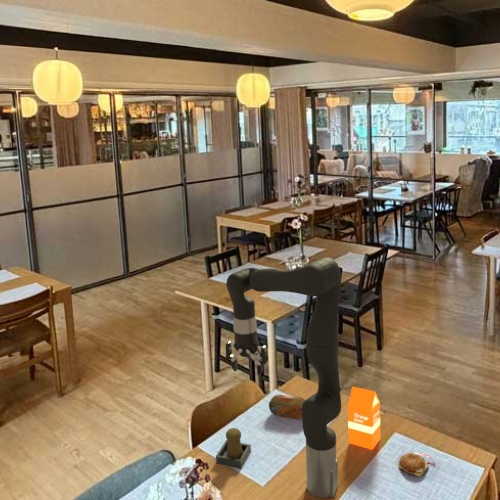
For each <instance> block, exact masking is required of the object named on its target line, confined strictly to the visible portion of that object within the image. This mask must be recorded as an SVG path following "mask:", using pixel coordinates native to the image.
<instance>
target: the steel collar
mask: <svg viewBox="0 0 500 500" xmlns="http://www.w3.org/2000/svg"><path fill="white" fill-rule="evenodd" d="M227 444H228V440H227V439H226V440H225V441H224V443H223V445H222V446H221V447H220V448H219V451H218V452H217V454H216V455H215V464H217V465H220V466H225V467H230V468H234V469H239V470H242V469H243V467H244V465H245V464H246V462H247V460H248V458H249V457H250V455H251V453H252V448H251V447H252V445H251V444H250V443H242V442H241V447H242V451H243V455H242V456H241V458H240V460H238V459H234V458H229V457H227V456H226V455H225V454H227Z"/></svg>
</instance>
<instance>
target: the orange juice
mask: <svg viewBox="0 0 500 500" xmlns="http://www.w3.org/2000/svg"><path fill="white" fill-rule="evenodd" d="M347 413H348V415H347V416H348V417H347V418H348V421H347V423H348V425H347V426H348V427H347V428H348V443H349V444H350V445H354V446H357V447H361V448H365V449H369V450H371V451H372V450H373V449H374V448H375V447H376V446H377V445H378V443H379V441H381V402H380V399H379V398H378V395H377V392H376V391H374V390H369V389H366V388H361V387H355V386H352V387H351V391H350V396H349V399H348V404H347Z"/></svg>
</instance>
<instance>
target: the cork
mask: <svg viewBox="0 0 500 500" xmlns="http://www.w3.org/2000/svg"><path fill="white" fill-rule="evenodd" d="M225 438H226V440H228V444H227V451H226V457H229V458H234V459H238V460H240V458H241V456H242V455H243V453H244V452H243V451H242V447H241V443H242V442H241V439H242V432H241V430H239V428H237V427H232V428H229V429H228V430H226V432H225Z"/></svg>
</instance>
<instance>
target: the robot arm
mask: <svg viewBox="0 0 500 500" xmlns="http://www.w3.org/2000/svg"><path fill="white" fill-rule="evenodd" d="M341 286H342V272H341V268H340V265H339V264H338V263H337V262H336V261H335V260H334V259H333V258H330V257H322V258H320V259H317V260H315V261H311V262H310V263H308V264H306V265H304V266H302V267H300V268H295V269H293V270H282V269H279V268H274V267H273V268H256V267H247V268H243V269H240V270H237V271H234V272H232V273H231V274H229V275H228V277H227V279H226V289H227V292H228V294H229V297H230V300H231V303H232V311H233V321H232V322H233V323H232V324H233V338H234V342H233V341H232V340H231V339H229V340H228V341H227V342H226V344H225V359H226V360H230V361H231V368H232V370H233V372H237V371H238V369H239V365H238V364H239V363H238V357H239V355H240V357H242V358H245V357H246V358H250V359H252V361H254V362H255V363H256V373H257V375H258V376H260V375H261V374H262V373H263V372H264V366H265V365H266V364H267V362H268V361H269V356H268V347H267V345H266V344H263V345H258V344H259V343H258V333H257V332H258V331H257V329H258V325H257V318H256V307H255V300H254V298H252V297H251V296H245V293H246V292H249V291H251V290H253V291H255V292H258V293H265V292H267V293H268V292H283V293H285V292H287V293H292V294H293V293H295V294H297V295H298V294H299V295H303V296H309V297H316V303H315V307H314V310H313V313H312V315H311V318H310V320H309V323H308V326H307V329H306V330H307V331H306V335H305V338H306V339H305V341H306V343H305V345H306V349H305V351H306V357H307V359H308V361H309V363H310V365H311V366H312V368H313V369H314V370H315V372H316V374H317V379H318V386H317V391H316V392H315V393H314V394H312V395H311V396H309V397H308V398H307V399H304V400H305V401H304V402H303V405H302V419H301V421H302V422H301V423H302V432H303V435H304V437H305V460H306V461H305V465H306V490H307V492H308V493H309V494H310V495H311V496H313V497H314V498H319V499H326V498H334V497H335V495H336V491H337V488H338V486H339V460H338V459H337V435H336V432H335V431H334V429H332V428H331V427H329V426H328V424H330V423H332V422H333V421H334V420H335V419H337V418H338V417H339V415H340V414H341V412H342V398H341V388H340V379H339V305H340V304H339V303H340V296H341V295H340V294H341ZM233 348H234V349H235V350H236V352H235V353H234V354H233ZM263 365H264V366H263Z"/></svg>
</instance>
